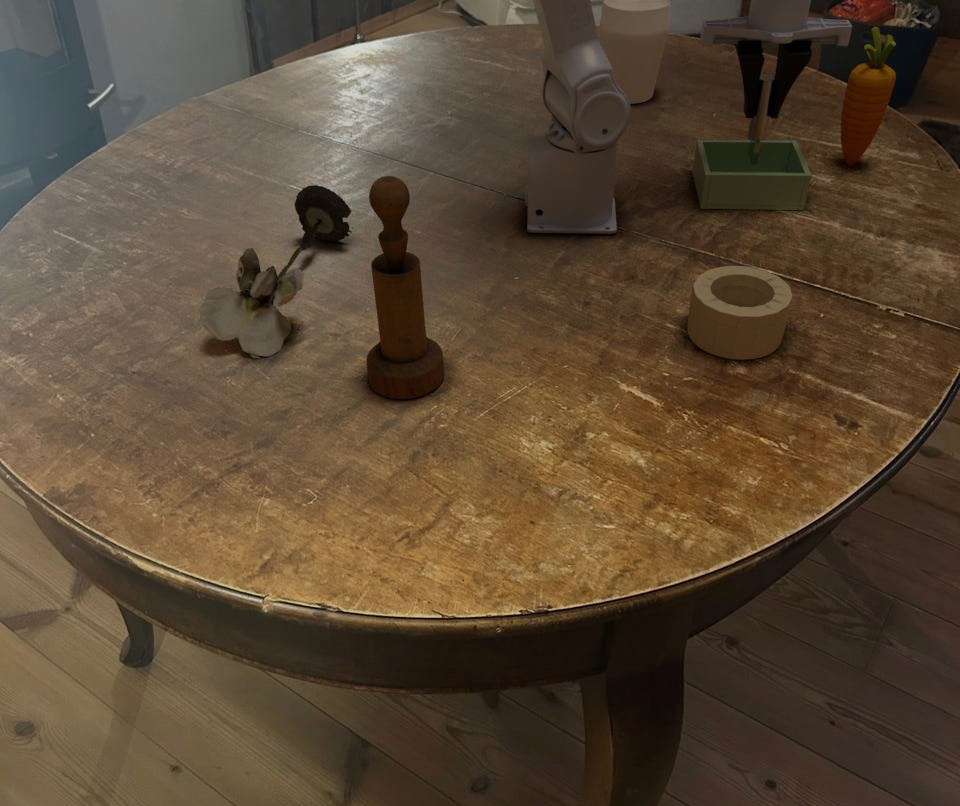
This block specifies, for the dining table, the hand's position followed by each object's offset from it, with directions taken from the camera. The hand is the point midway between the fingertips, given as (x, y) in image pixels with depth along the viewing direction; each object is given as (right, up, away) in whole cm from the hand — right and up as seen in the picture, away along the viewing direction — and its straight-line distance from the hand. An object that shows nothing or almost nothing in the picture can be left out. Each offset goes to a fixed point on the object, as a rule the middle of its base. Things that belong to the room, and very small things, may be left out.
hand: (760, 114), depth 99 cm
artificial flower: (-48, -21, -8) cm, 54 cm away
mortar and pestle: (-36, -30, -19) cm, 51 cm away
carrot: (+14, -2, +10) cm, 17 cm away
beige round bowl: (-7, -26, -15) cm, 31 cm away
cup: (-10, +13, +28) cm, 33 cm away
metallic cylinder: (0, -4, +3) cm, 5 cm away
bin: (0, -6, +6) cm, 9 cm away
